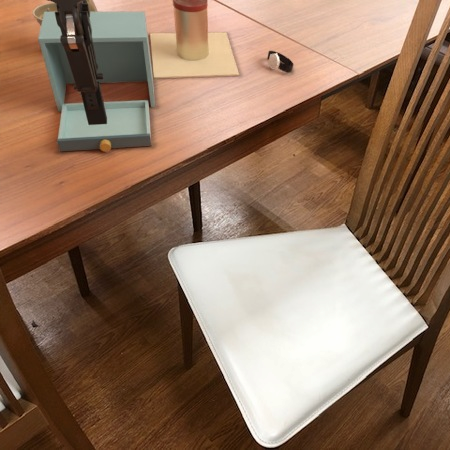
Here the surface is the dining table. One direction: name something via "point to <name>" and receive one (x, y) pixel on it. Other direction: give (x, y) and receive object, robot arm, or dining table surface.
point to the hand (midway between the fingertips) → (97, 121)
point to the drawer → (105, 127)
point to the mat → (181, 68)
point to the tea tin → (191, 28)
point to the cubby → (101, 50)
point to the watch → (275, 61)
